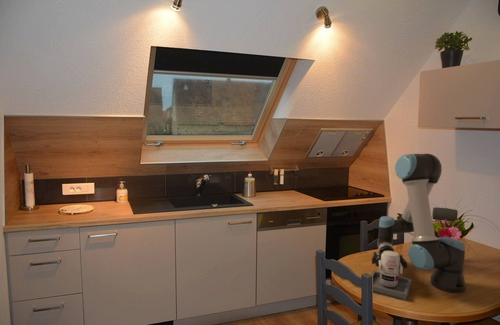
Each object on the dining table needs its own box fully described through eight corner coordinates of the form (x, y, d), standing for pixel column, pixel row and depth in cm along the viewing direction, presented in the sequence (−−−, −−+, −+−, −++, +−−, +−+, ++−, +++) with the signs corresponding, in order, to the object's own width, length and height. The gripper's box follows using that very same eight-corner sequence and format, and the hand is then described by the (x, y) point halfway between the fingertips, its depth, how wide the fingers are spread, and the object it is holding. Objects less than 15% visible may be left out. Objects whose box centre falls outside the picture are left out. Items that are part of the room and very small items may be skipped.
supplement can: (390, 279, 180) (392, 249, 178) (401, 286, 172) (404, 255, 170) (375, 280, 178) (377, 250, 176) (386, 288, 170) (388, 257, 168)
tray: (411, 285, 178) (411, 279, 178) (405, 300, 163) (406, 294, 163) (373, 276, 187) (373, 270, 187) (364, 290, 172) (364, 284, 172)
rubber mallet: (452, 259, 212) (457, 208, 208) (453, 263, 205) (458, 211, 201) (428, 255, 217) (432, 205, 213) (428, 259, 210) (433, 208, 206)
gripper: (408, 261, 189) (415, 280, 167) (364, 256, 194) (366, 274, 173) (409, 247, 188) (416, 264, 166) (365, 242, 193) (367, 258, 172)
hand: (390, 269), depth 169 cm, fingers open, 8 cm apart
